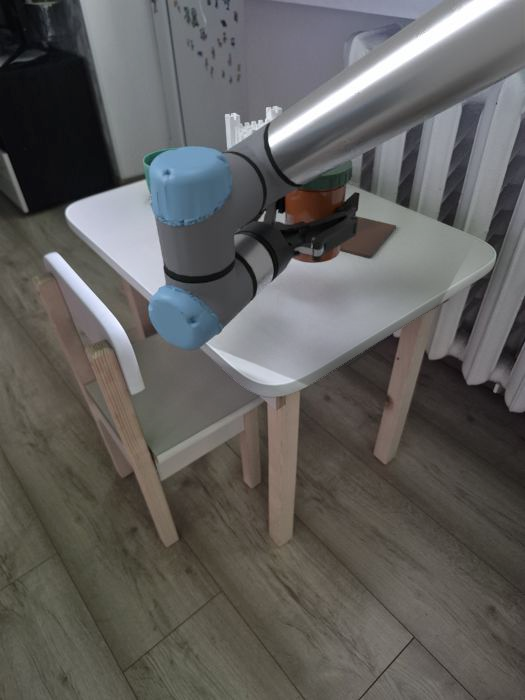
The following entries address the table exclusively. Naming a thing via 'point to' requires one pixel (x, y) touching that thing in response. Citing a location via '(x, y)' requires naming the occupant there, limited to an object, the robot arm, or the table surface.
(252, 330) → the table surface
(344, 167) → the lid
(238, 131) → the castle model
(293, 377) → the table surface
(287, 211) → the jar
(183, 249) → the robot arm
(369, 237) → the coaster
